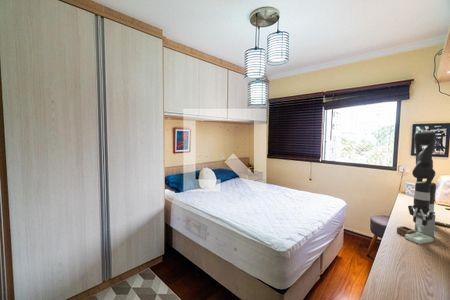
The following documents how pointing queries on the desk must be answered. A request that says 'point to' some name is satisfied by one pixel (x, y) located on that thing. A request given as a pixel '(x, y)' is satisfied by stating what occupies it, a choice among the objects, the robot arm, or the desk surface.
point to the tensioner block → (405, 230)
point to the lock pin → (419, 223)
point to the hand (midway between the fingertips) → (419, 223)
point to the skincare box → (429, 227)
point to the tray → (419, 238)
